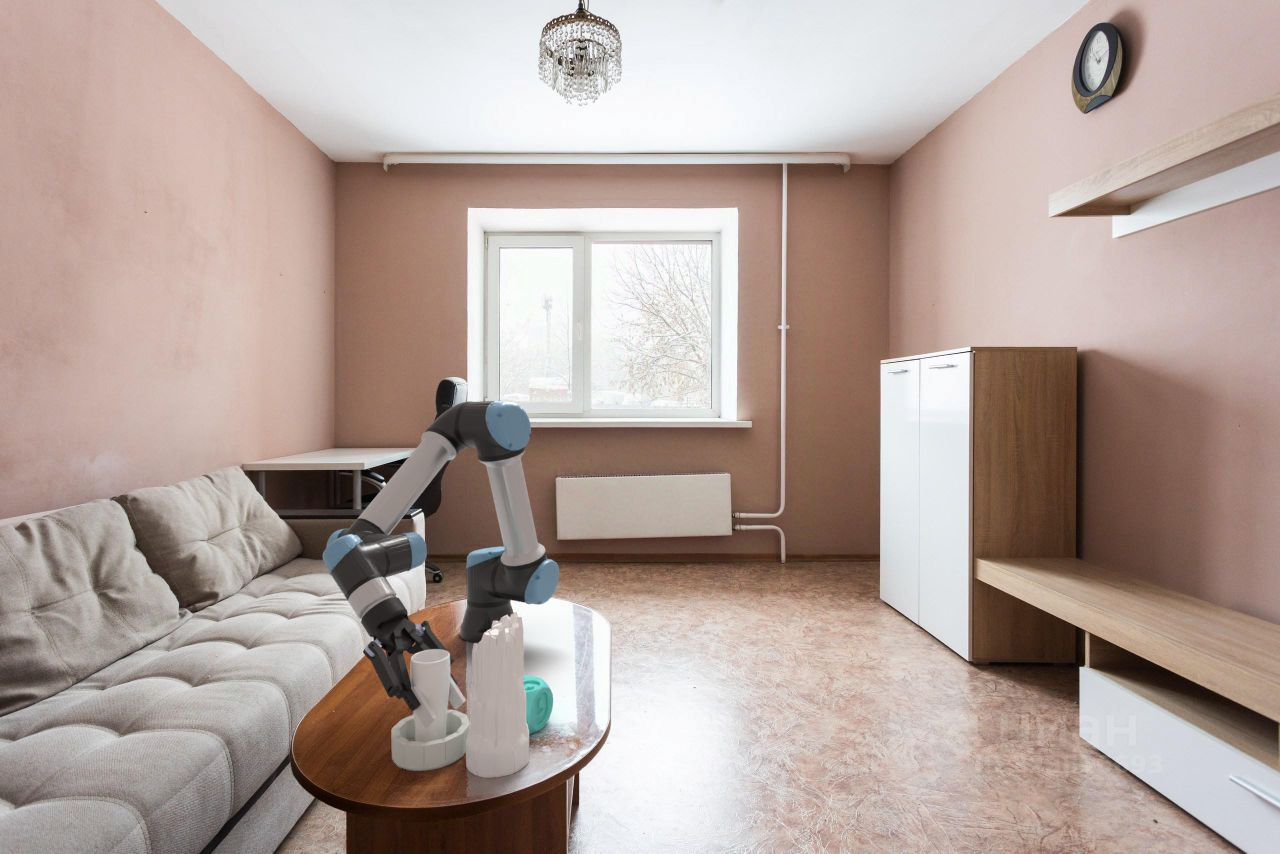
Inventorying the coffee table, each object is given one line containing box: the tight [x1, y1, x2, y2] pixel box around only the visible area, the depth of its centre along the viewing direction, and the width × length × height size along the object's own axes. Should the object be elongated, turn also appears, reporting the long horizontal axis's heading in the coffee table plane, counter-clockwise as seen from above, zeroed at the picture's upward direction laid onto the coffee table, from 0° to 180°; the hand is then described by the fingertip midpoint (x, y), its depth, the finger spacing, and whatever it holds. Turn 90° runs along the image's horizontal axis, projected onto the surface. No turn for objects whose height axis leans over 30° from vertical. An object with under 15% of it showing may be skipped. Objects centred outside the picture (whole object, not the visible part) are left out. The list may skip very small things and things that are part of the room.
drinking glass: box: [409, 649, 451, 742], centre depth 112 cm, size 7×7×15 cm
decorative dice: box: [523, 675, 554, 735], centre depth 121 cm, size 8×8×8 cm
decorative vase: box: [465, 611, 530, 779], centre depth 109 cm, size 11×11×25 cm
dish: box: [390, 709, 470, 772], centre depth 112 cm, size 13×13×4 cm
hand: (446, 713), depth 110 cm, fingers closed on drinking glass, 6 cm apart
